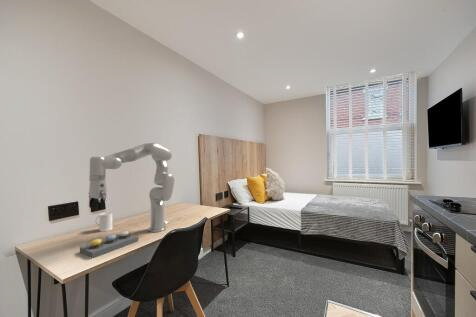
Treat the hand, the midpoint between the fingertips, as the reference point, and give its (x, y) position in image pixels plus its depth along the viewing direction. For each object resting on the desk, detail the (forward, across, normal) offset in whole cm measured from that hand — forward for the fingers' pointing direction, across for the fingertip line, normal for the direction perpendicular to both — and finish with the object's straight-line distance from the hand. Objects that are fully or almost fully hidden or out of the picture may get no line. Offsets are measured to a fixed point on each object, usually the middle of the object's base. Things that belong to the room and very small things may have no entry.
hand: (96, 208), depth 114 cm
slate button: (+20, -1, -8) cm, 21 cm away
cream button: (+20, -1, -16) cm, 25 cm away
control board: (+24, -1, -8) cm, 26 cm away
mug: (+24, +35, -22) cm, 48 cm away
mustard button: (+20, -1, 0) cm, 20 cm away
